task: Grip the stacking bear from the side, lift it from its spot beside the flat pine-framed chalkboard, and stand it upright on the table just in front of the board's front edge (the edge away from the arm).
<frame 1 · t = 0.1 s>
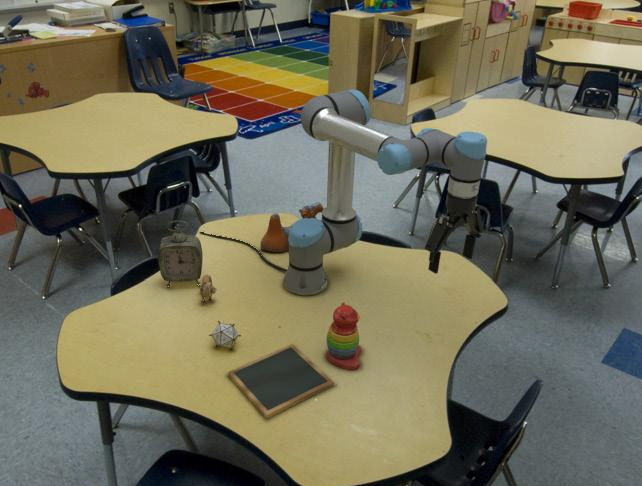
hand: (450, 264, 161), 28 cm above the table, tool pointing down, fingers open, 13 cm apart
stacking bear: (343, 357, 172), on the table
tabletop clock: (184, 283, 207), on the table
game die: (225, 346, 177), on the table
chalkboard: (280, 380, 163), on the table
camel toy: (292, 246, 229), on the table
lion figurine: (208, 297, 199), on the table
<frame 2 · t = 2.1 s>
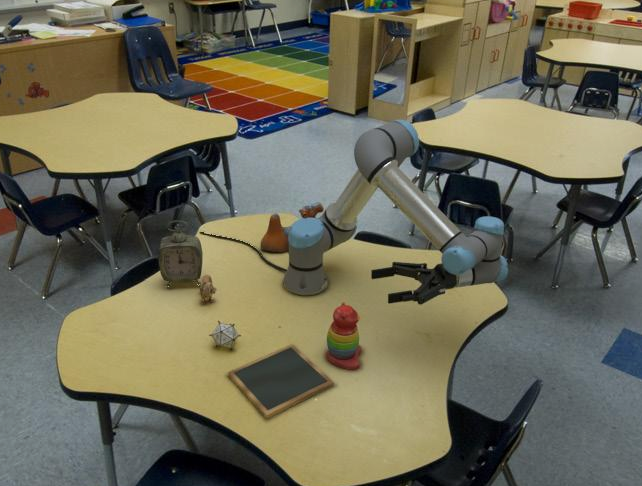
hand: (379, 286, 162), 23 cm above the table, tool horizontal, fingers open, 13 cm apart
nothing on the table moved.
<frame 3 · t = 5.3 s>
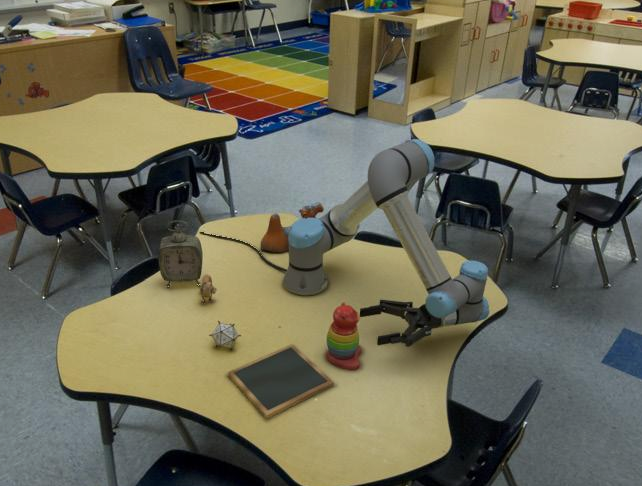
hand: (368, 326, 168), 10 cm above the table, tool horizontal, fingers open, 13 cm apart
nothing on the table moved.
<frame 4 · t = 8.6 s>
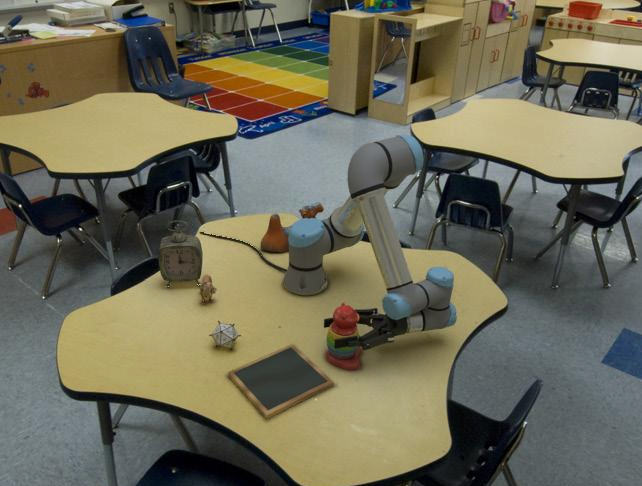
hand: (329, 333, 166), 10 cm above the table, tool horizontal, fingers closed on stacking bear, 9 cm apart
stacking bear: (343, 357, 172), on the table, touching gripper
everything else where it was.
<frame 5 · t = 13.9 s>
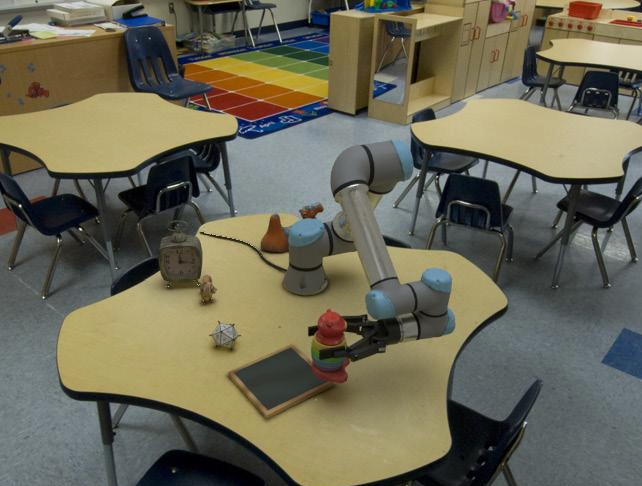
hand: (313, 343, 149), 18 cm above the table, tool horizontal, fingers closed on stacking bear, 9 cm apart
stacking bear: (329, 369, 155), point 8 cm above the table, touching gripper
everything else where it was.
when the fingers open (9 cm above the table, at t = 19.2 s): stacking bear stays where it is, on the table.
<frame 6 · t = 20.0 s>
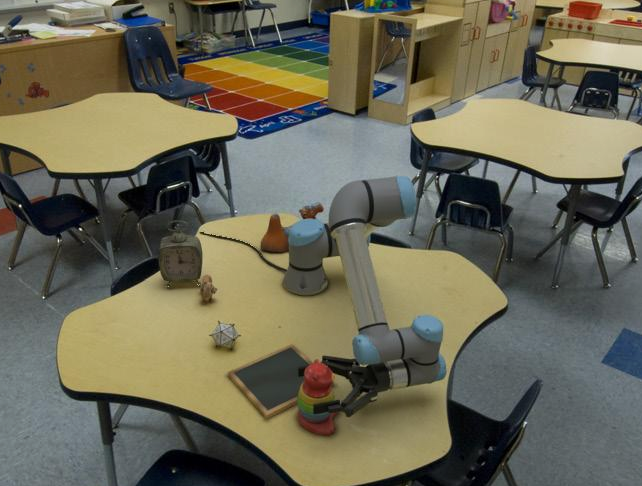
hand: (305, 390, 145), 10 cm above the table, tool horizontal, fingers open, 13 cm apart
stacking bear: (316, 419, 151), on the table
everything else where it was.
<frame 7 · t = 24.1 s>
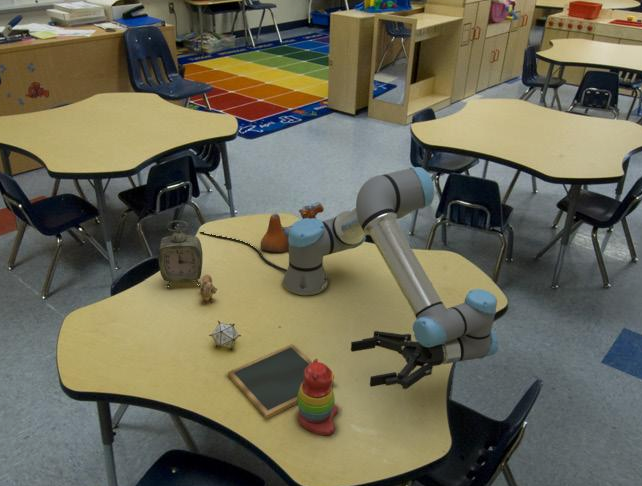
hand: (360, 363, 147), 14 cm above the table, tool horizontal, fingers open, 13 cm apart
nothing on the table moved.
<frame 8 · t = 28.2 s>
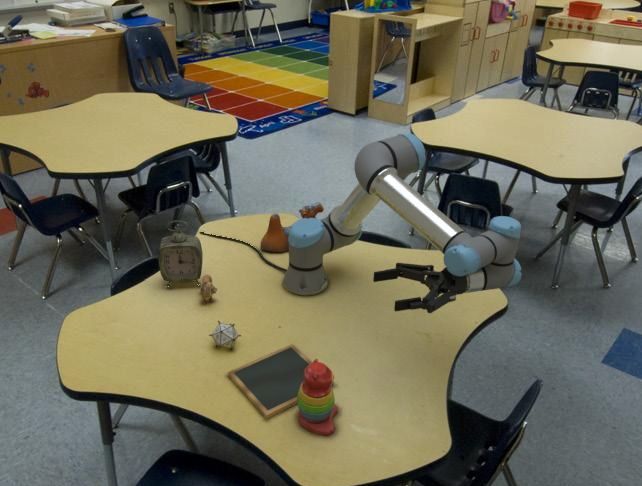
hand: (384, 291, 147), 30 cm above the table, tool horizontal, fingers open, 13 cm apart
nothing on the table moved.
at the end: stacking bear inside the target area on the table beside the chalkboard (1.4 cm from its centre), on the table; stacking bear tilted 0°; the gripper is holding nothing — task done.
